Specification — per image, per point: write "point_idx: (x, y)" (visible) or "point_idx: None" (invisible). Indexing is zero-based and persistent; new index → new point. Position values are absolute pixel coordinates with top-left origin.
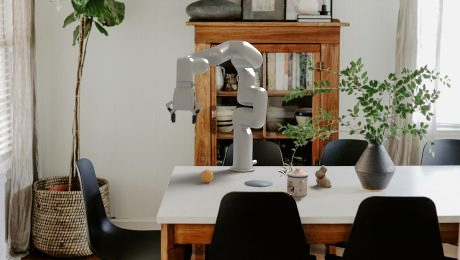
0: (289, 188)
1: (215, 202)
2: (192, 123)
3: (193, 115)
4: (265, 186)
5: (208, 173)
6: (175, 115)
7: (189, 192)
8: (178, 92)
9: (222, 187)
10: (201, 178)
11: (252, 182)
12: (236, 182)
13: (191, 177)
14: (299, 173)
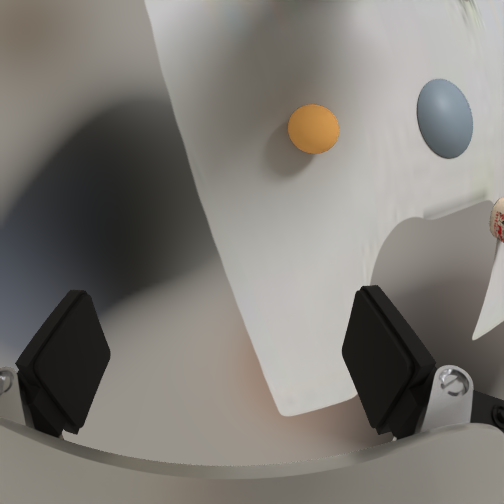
0: (499, 237)
1: None
2: (346, 356)
3: (388, 428)
4: (462, 152)
5: (328, 147)
6: (51, 354)
7: (288, 278)
8: None
9: (369, 188)
10: (294, 144)
11: (434, 110)
12: (395, 108)
13: (226, 64)
14: None
